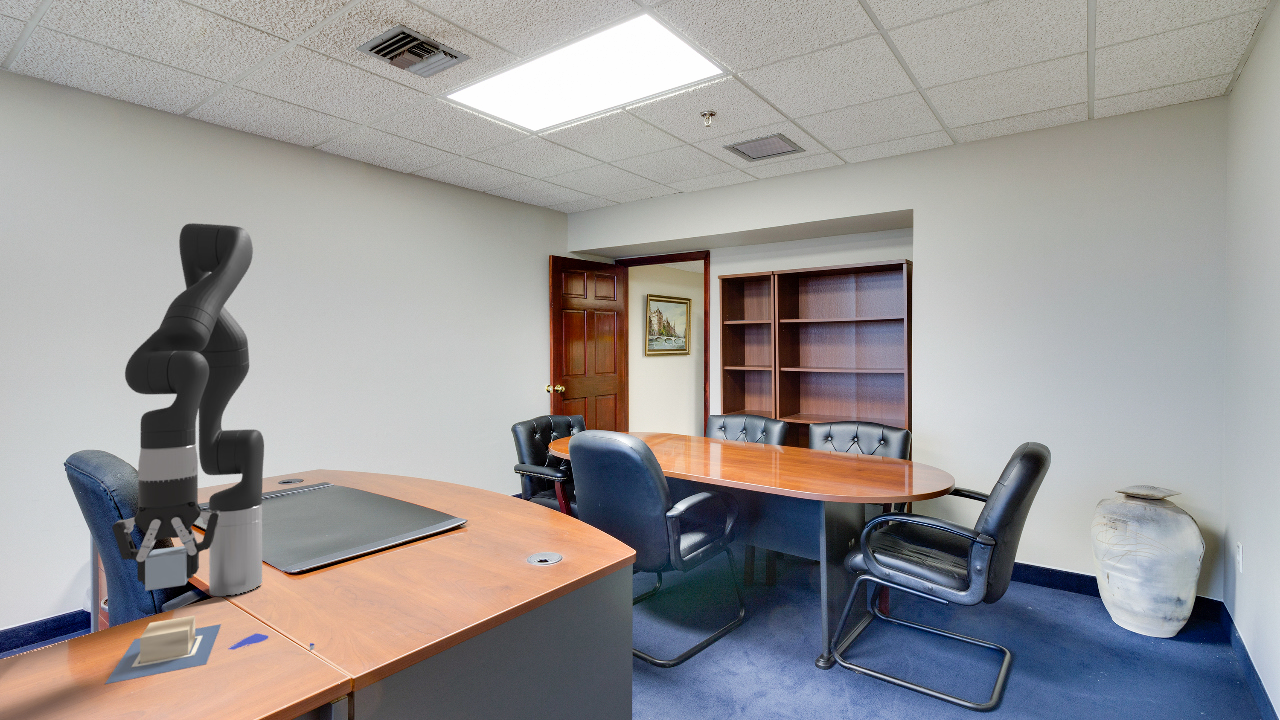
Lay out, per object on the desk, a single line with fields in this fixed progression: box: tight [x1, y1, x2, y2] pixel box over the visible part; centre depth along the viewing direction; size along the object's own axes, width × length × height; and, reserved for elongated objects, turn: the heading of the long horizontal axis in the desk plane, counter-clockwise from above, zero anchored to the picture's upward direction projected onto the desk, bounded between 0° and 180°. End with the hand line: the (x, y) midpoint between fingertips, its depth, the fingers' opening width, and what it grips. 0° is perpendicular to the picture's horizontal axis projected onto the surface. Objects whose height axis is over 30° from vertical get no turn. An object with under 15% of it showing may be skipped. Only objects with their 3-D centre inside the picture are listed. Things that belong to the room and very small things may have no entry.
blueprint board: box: [104, 623, 222, 685], centre depth 97 cm, size 16×12×1 cm
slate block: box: [144, 545, 190, 592], centre depth 97 cm, size 5×5×5 cm
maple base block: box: [139, 615, 196, 664], centre depth 97 cm, size 6×6×4 cm
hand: (168, 579), depth 97 cm, fingers closed on slate block, 5 cm apart
